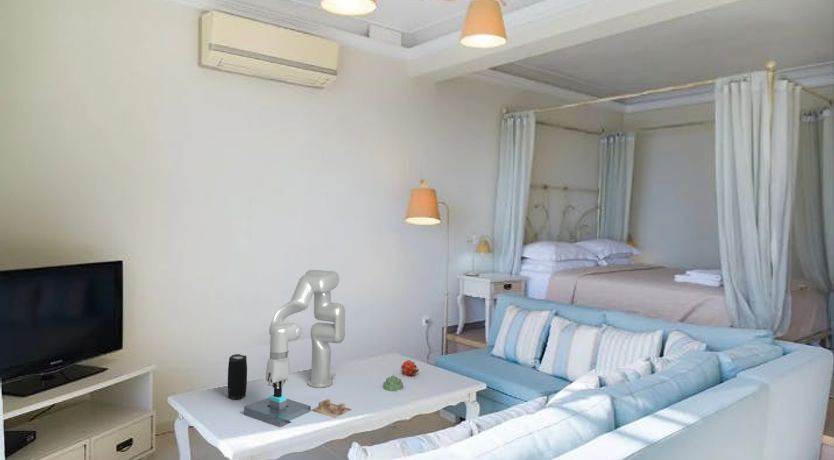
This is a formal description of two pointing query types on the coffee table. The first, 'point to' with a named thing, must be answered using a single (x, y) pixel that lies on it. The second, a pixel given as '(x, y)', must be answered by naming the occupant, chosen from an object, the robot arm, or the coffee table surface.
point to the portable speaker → (237, 376)
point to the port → (276, 412)
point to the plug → (278, 402)
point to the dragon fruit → (409, 368)
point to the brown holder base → (331, 409)
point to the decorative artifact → (393, 384)
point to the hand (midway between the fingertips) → (277, 396)
